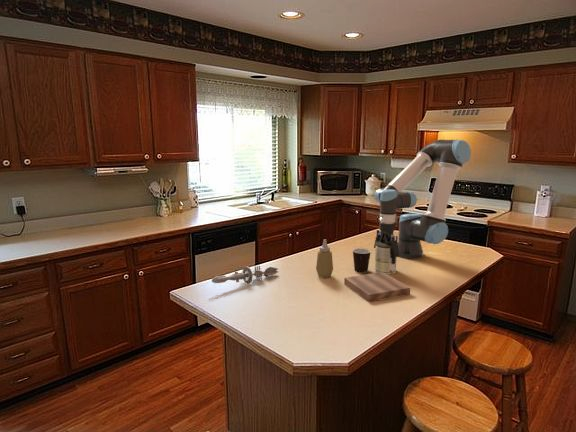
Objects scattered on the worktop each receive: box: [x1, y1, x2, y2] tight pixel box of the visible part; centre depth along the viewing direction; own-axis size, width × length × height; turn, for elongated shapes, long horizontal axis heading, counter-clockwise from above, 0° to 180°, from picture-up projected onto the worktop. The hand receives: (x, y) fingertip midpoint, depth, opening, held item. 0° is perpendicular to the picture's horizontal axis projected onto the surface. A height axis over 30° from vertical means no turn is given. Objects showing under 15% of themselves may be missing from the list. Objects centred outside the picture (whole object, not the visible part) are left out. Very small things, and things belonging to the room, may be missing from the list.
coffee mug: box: [352, 247, 372, 274], centre depth 184 cm, size 12×9×10 cm
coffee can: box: [374, 241, 397, 275], centre depth 184 cm, size 10×10×14 cm
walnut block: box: [343, 272, 411, 303], centre depth 163 cm, size 20×20×3 cm
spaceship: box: [211, 265, 279, 285], centre depth 170 cm, size 8×35×8 cm
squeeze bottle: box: [315, 239, 334, 279], centre depth 177 cm, size 8×8×18 cm
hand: (385, 266), depth 185 cm, fingers closed on coffee can, 10 cm apart
